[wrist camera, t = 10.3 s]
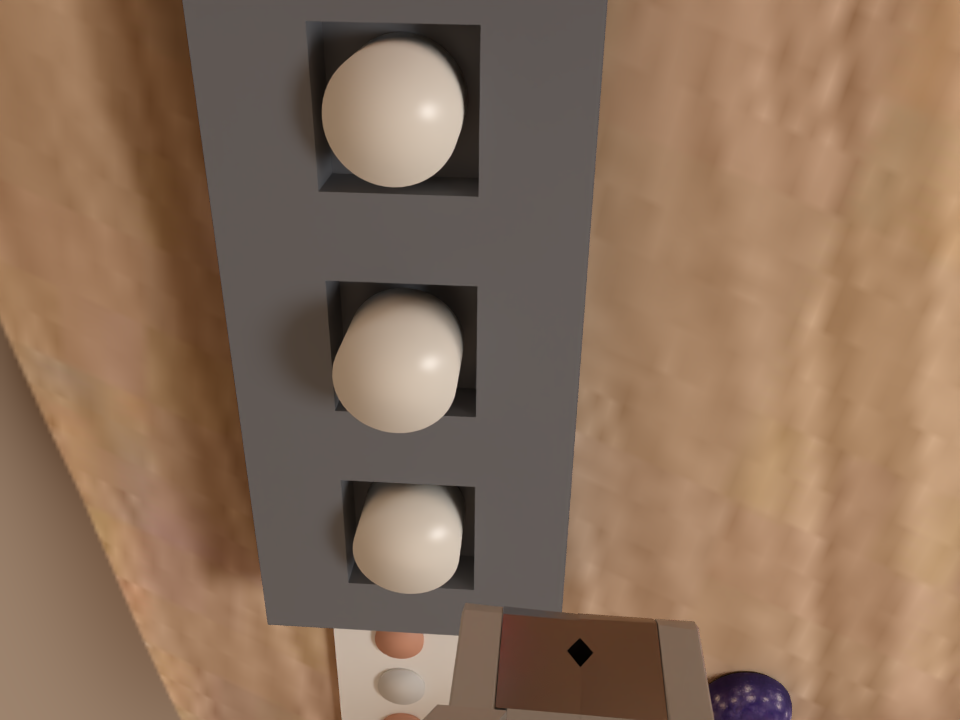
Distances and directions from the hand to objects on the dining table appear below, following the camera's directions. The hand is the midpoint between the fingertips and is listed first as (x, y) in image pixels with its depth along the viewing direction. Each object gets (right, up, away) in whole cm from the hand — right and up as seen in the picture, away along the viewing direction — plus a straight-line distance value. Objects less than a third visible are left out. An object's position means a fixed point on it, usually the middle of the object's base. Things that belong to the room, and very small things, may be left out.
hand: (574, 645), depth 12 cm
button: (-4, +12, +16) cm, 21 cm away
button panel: (-4, +5, +21) cm, 22 cm away
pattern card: (-5, -11, +30) cm, 33 cm away
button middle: (-4, +4, +19) cm, 20 cm away
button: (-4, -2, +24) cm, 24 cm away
